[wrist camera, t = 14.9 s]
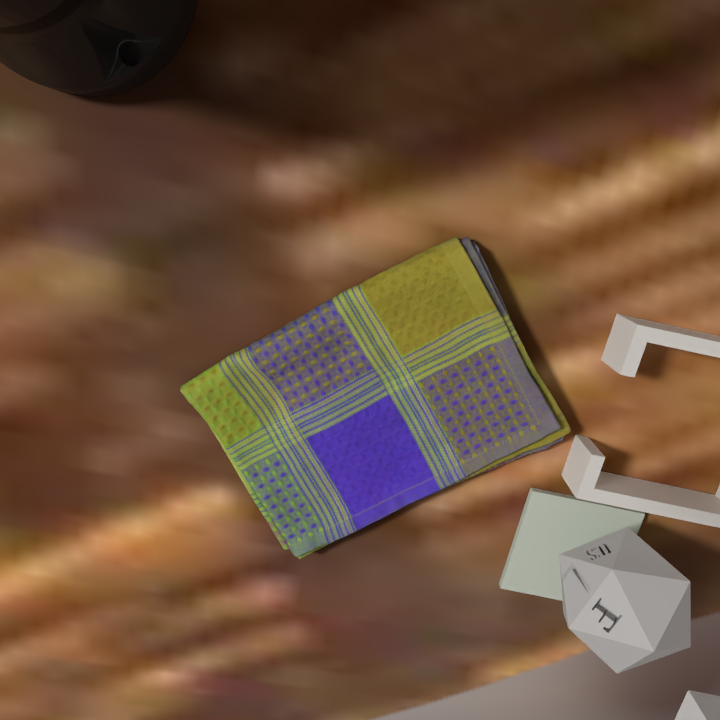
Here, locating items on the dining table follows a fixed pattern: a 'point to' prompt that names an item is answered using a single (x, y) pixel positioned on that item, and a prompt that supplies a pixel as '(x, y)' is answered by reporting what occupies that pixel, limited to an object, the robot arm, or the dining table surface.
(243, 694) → the dining table surface
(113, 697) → the dining table surface
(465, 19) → the dining table surface
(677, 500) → the pocket
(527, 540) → the mat
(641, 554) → the die
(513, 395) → the dish towel
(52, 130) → the dining table surface
